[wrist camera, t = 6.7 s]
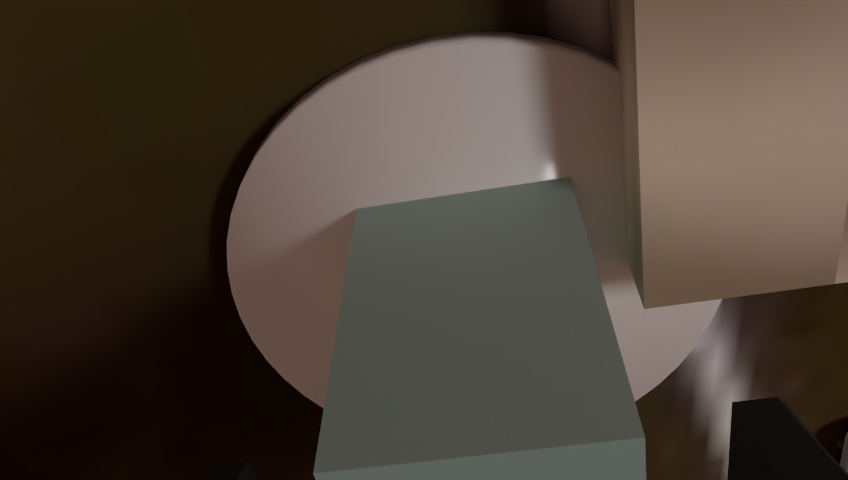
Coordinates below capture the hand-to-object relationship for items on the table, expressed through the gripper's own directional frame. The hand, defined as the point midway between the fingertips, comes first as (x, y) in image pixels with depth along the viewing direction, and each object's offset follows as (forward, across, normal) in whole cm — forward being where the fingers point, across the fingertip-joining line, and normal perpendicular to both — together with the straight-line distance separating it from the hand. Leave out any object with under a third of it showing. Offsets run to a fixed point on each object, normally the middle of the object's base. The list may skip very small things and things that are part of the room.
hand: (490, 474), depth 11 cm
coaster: (+5, 0, 0) cm, 5 cm away
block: (+5, 0, 0) cm, 5 cm away
